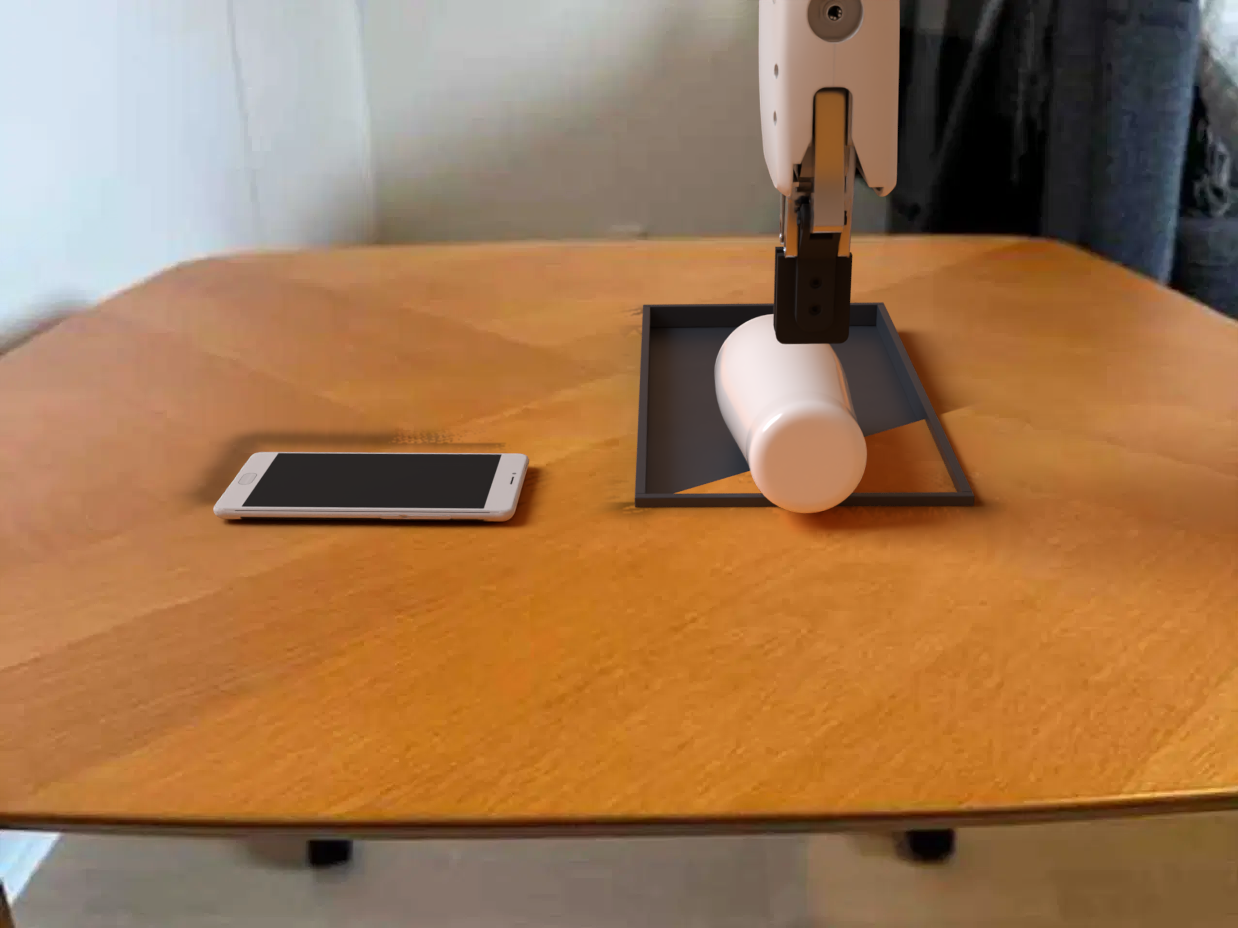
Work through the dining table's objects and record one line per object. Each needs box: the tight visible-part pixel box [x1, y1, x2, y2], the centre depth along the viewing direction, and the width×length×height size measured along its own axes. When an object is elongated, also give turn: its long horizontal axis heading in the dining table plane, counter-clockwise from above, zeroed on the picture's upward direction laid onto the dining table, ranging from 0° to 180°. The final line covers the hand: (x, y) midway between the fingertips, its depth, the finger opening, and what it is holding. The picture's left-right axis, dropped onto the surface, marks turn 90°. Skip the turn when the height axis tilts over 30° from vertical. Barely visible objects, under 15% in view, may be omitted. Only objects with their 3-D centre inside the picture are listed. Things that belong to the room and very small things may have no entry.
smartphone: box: [212, 451, 530, 522], centre depth 75 cm, size 8×1×15 cm
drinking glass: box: [714, 314, 868, 514], centre depth 73 cm, size 7×7×15 cm
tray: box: [634, 301, 975, 509], centre depth 84 cm, size 31×16×2 cm, turn 178°
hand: (810, 337), depth 65 cm, fingers closed
